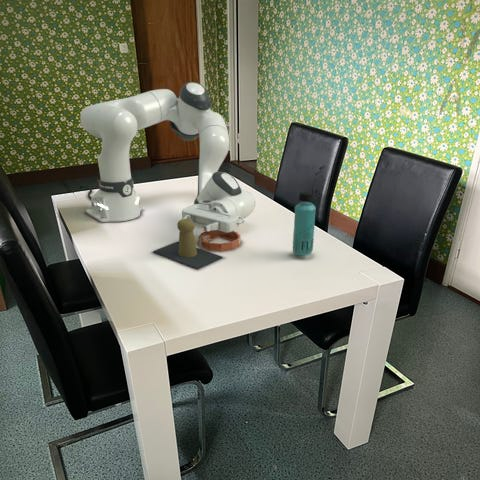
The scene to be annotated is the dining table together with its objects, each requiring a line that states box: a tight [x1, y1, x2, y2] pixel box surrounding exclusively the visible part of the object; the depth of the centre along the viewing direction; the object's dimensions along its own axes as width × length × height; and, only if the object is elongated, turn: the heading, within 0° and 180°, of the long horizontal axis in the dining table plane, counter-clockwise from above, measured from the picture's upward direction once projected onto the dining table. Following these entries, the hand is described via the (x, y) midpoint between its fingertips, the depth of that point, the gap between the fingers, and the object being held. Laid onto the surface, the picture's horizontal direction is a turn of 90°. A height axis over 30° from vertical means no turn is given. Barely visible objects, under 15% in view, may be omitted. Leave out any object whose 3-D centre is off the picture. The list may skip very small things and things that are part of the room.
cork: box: [177, 218, 197, 257], centre depth 144 cm, size 6×6×11 cm
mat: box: [152, 240, 223, 270], centre depth 147 cm, size 20×11×1 cm, turn 49°
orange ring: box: [197, 230, 242, 252], centre depth 154 cm, size 14×14×2 cm
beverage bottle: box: [292, 190, 317, 256], centre depth 141 cm, size 6×7×20 cm
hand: (193, 225), depth 145 cm, fingers open, 8 cm apart
